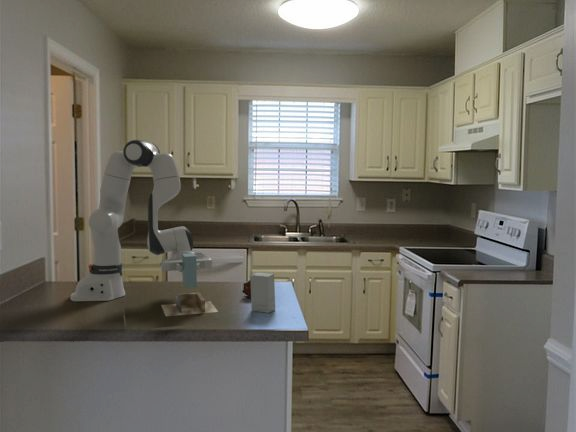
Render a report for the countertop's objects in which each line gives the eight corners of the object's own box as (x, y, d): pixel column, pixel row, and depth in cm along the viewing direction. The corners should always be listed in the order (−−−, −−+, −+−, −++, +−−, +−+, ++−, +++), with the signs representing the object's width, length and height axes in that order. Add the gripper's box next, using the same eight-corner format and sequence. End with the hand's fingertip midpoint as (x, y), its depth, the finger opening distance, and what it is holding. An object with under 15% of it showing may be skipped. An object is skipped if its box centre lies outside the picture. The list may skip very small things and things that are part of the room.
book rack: (165, 318, 186) (165, 304, 185) (161, 307, 201) (161, 294, 200) (218, 314, 193) (218, 300, 192) (210, 303, 208) (210, 290, 207)
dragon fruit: (247, 304, 213) (253, 301, 225) (263, 293, 213) (268, 290, 225) (236, 287, 215) (243, 285, 226) (252, 276, 214) (258, 274, 226)
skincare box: (275, 310, 200) (275, 273, 198) (268, 313, 194) (268, 276, 193) (257, 307, 203) (257, 271, 202) (249, 310, 198) (250, 274, 197)
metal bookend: (179, 312, 190) (179, 301, 190) (175, 306, 200) (175, 295, 199) (181, 312, 191) (181, 301, 190) (177, 305, 200) (177, 294, 200)
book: (185, 287, 192) (184, 256, 191) (182, 283, 198) (182, 253, 197) (196, 286, 193) (196, 256, 192) (193, 282, 200) (193, 253, 199)
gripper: (158, 255, 203) (162, 261, 190) (208, 252, 210) (215, 258, 197) (159, 270, 204) (162, 277, 191) (208, 267, 211) (215, 274, 198)
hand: (189, 267), depth 194 cm, fingers closed on book, 4 cm apart
